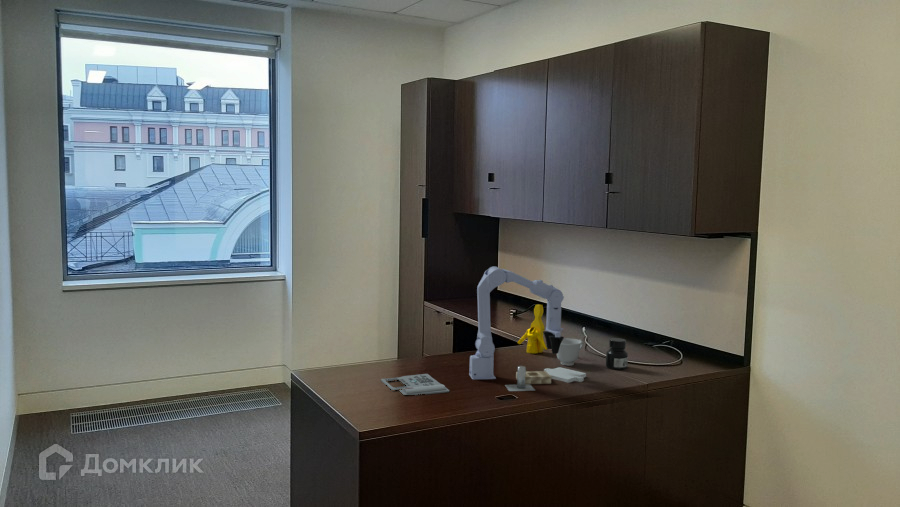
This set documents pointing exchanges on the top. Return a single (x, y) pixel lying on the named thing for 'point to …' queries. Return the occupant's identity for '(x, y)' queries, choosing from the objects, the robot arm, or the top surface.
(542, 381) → the hole block
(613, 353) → the ink bottle
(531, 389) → the mat
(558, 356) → the teacup
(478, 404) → the top surface
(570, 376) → the mounting plate
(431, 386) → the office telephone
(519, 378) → the peg
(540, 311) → the figure statuette
